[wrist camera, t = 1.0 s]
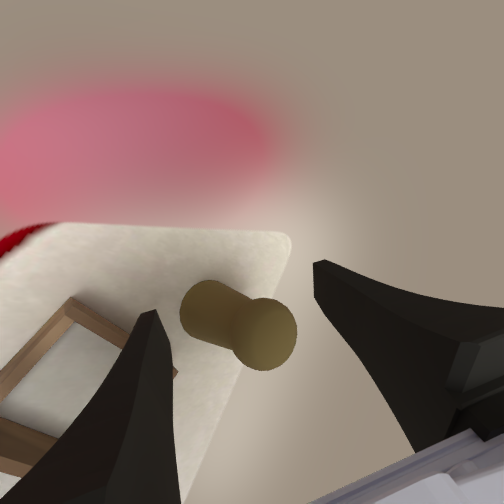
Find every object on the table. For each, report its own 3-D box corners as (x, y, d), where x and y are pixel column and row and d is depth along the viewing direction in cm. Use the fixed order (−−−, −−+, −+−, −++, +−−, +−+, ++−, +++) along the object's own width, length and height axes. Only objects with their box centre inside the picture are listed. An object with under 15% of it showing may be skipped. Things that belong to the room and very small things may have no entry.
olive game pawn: (243, 301, 31) (320, 324, 22) (211, 350, 29) (283, 398, 20) (204, 268, 28) (275, 278, 19) (166, 319, 26) (225, 359, 17)
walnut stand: (85, 460, 22) (91, 497, 19) (-42, 415, 18) (-64, 453, 15) (162, 355, 26) (178, 371, 22) (70, 296, 21) (73, 306, 18)
